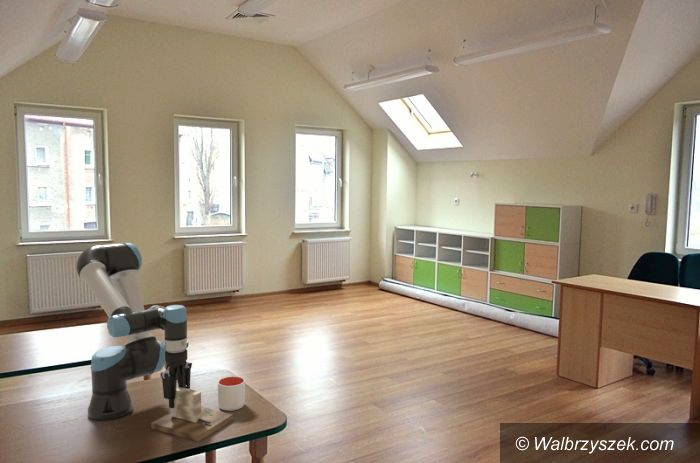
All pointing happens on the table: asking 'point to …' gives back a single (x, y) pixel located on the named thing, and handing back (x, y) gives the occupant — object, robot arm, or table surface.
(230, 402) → the cup
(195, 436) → the board
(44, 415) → the table surface
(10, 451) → the table surface
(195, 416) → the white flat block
